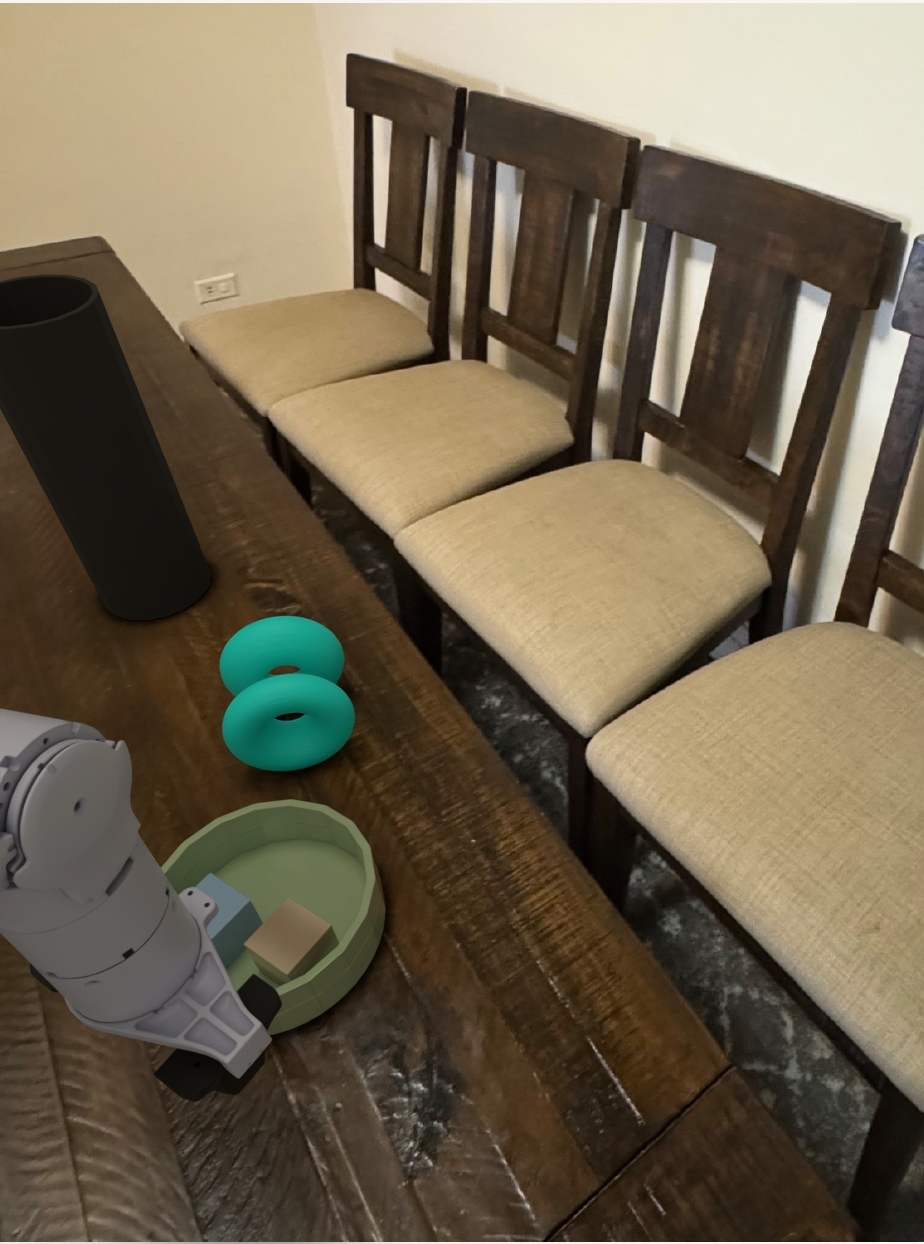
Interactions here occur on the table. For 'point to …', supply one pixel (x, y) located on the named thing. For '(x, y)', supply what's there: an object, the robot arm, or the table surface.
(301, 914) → the brown block
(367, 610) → the table surface
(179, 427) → the table surface
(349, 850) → the green shallow bowl
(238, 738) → the donuts
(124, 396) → the vase
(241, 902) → the blue block
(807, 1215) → the table surface
